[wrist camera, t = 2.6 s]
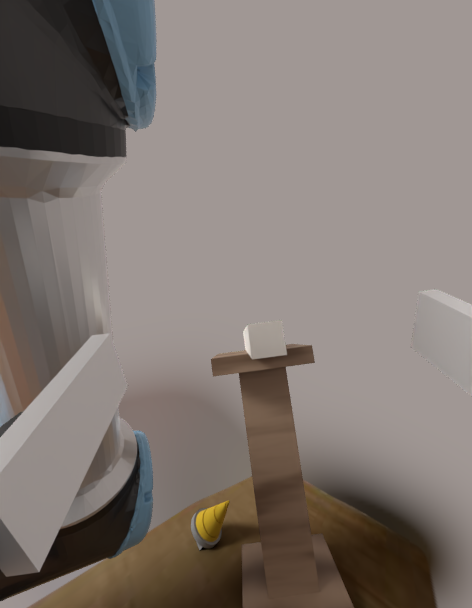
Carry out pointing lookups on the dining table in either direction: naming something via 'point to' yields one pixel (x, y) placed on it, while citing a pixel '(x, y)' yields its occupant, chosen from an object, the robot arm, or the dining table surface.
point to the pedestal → (279, 493)
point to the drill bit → (208, 525)
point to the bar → (265, 339)
